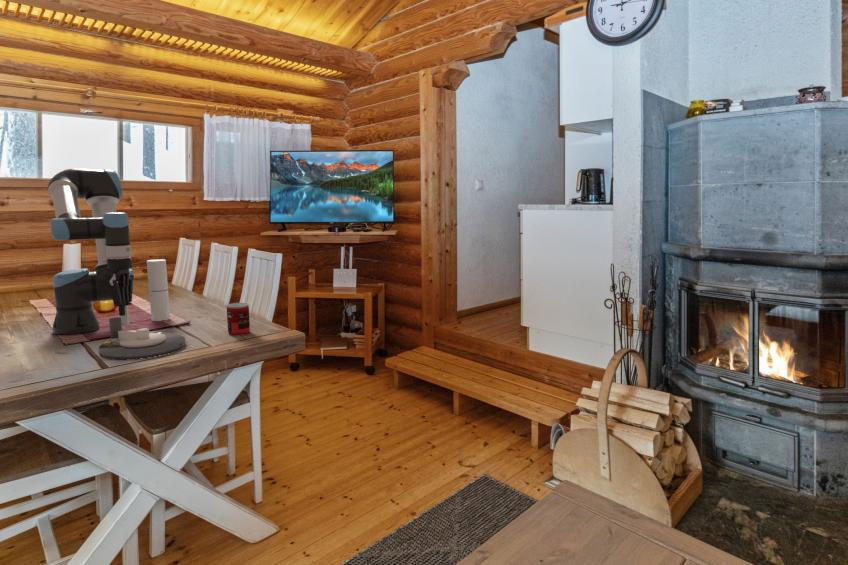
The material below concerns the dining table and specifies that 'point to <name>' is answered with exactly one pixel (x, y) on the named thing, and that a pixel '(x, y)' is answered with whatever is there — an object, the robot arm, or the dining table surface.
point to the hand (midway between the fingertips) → (125, 323)
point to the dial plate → (141, 348)
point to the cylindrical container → (158, 289)
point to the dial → (134, 335)
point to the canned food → (238, 318)
